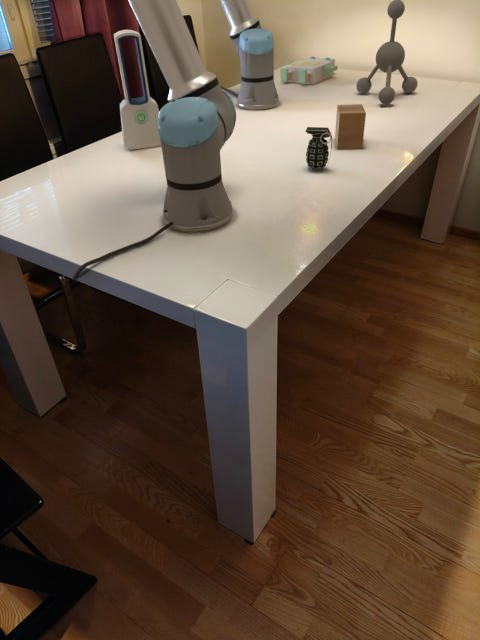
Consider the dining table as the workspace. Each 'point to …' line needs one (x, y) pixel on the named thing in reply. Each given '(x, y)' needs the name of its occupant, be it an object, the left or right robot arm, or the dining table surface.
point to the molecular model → (390, 60)
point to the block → (350, 126)
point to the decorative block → (308, 70)
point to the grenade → (318, 147)
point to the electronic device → (137, 102)
